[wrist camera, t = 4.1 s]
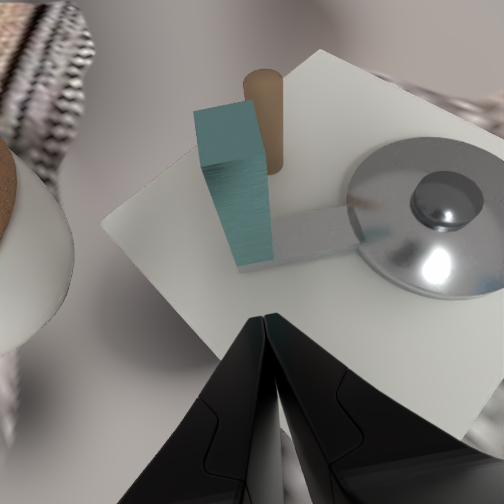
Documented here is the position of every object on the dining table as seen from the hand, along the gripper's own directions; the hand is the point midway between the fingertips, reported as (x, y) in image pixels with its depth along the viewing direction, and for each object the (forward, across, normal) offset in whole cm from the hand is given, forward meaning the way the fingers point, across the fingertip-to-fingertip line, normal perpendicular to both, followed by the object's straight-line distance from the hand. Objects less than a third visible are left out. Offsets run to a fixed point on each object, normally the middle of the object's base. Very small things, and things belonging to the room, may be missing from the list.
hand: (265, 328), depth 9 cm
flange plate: (+9, -7, +1) cm, 12 cm away
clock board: (+12, -6, +1) cm, 13 cm away
